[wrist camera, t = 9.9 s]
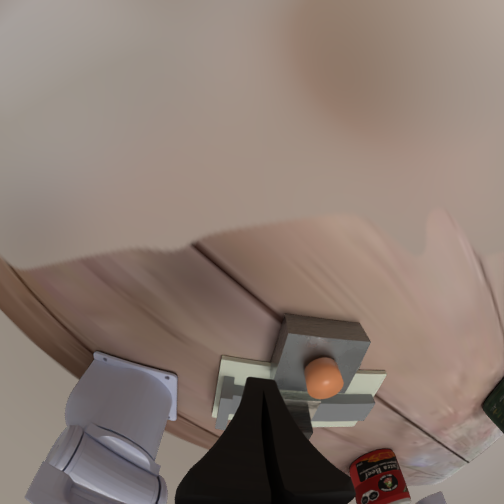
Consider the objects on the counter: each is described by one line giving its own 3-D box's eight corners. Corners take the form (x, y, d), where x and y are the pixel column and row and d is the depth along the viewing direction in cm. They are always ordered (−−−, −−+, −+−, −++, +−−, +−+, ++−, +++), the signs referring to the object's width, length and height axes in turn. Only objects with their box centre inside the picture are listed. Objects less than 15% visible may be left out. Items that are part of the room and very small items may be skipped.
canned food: (399, 442, 30) (420, 495, 19) (385, 465, 32) (400, 512, 22) (354, 454, 30) (369, 512, 20) (344, 474, 33) (355, 525, 22)
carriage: (254, 417, 26) (254, 458, 20) (266, 380, 24) (268, 425, 19) (299, 420, 26) (304, 460, 21) (317, 384, 24) (327, 427, 19)
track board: (212, 413, 27) (208, 437, 23) (222, 355, 24) (217, 381, 21) (352, 422, 27) (359, 444, 24) (385, 370, 25) (396, 392, 21)
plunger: (299, 381, 21) (302, 398, 19) (309, 355, 20) (314, 372, 18) (330, 383, 21) (335, 399, 19) (342, 358, 20) (348, 374, 18)
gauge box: (269, 366, 24) (270, 388, 22) (284, 313, 23) (288, 333, 20) (340, 372, 25) (347, 393, 22) (362, 323, 23) (373, 342, 20)
